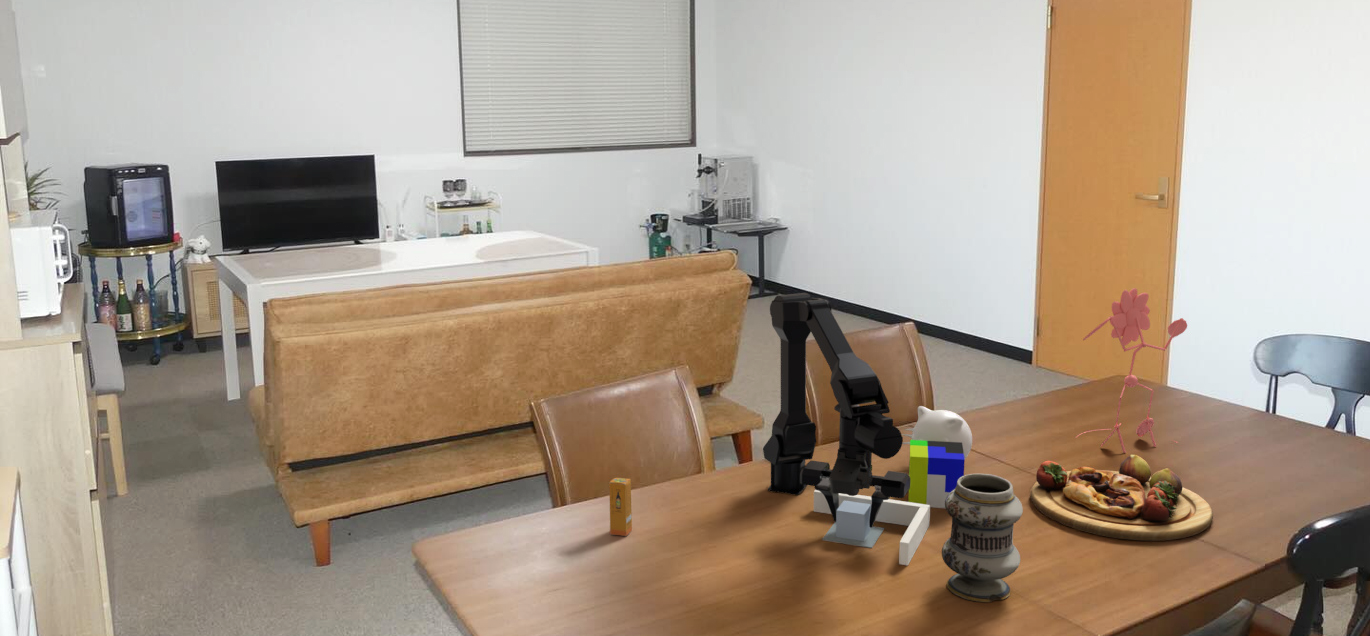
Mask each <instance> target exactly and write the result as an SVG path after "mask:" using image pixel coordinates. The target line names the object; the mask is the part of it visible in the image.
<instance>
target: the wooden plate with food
mask: <svg viewBox="0 0 1370 636" xmlns="http://www.w3.org/2000/svg"><path fill="white" fill-rule="evenodd" d="M1119 466H1120V467H1119V468H1118V470H1116V471H1115V470H1108V469H1107V470H1101V469H1095V468H1094V467H1089V466H1079V467H1077V468H1073V469H1071V470H1068V471H1067V470H1066V469H1065V468H1064V467H1063V466H1062V465H1061V464H1059V463H1057V462H1055V461H1052V460H1046V461H1043V462H1042V463H1040V465H1039V467H1038V468H1037V470H1036V477H1035V478H1036V481H1035V483H1034V484H1033V485H1032V486H1031V489H1030V495H1029V496H1030V500H1031V501H1032V503H1033V505H1034V507H1035V508H1036V509H1037V510H1038V511H1039V512H1041V513H1042V514H1043V515H1045V516H1046V517H1048V518H1049V519H1051V520H1053V521H1055V522H1057V523H1059V524H1061V525H1063V526H1066V527H1069V528H1072V529H1075V530H1079V531H1082V532H1084V533H1089V534H1093V535H1097V536H1102V537H1107V538H1114V539H1118V540H1119V539H1120V540H1121V539H1122V540H1129V541H1147V542H1148V541H1149V542H1150V541H1151V542H1154V541H1157V542H1158V541H1160V542H1161V541H1170V540H1171V541H1172V540H1173V541H1174V540H1178V539H1179V540H1180V539H1184V538H1188V537H1192V536H1196V535H1198V534H1200V533H1202V532H1203V531H1205V530H1206V529H1207V528H1209V527H1210V526H1211V523H1212V522H1213V518H1214V512H1213V510H1212V507H1211V505H1210V504H1209V503H1208V502H1207V501H1206V500H1205V499H1204V498H1203V497H1202V496H1200V495H1199V494H1198V493H1196V492H1194V491H1192V490H1190V489H1188V488H1185V487H1183V484H1182V481H1181V478H1180V477H1179V476H1178V475H1177V473H1175V472H1173V471H1172V470H1171V469H1170V468H1167V467H1166V468H1163V469H1161V470H1157V471H1156V472H1154V473H1153V474H1152V469H1151V467H1150V465H1149V464H1148V462H1147V461H1146V460H1145V459H1143V457H1141V456H1139V455H1137V454H1130V455H1129V456H1127V457H1126V458H1125V459H1123V460H1122V462H1121V463H1120V465H1119Z"/></svg>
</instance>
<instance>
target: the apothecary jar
mask: <svg viewBox="0 0 1370 636" xmlns="http://www.w3.org/2000/svg"><path fill="white" fill-rule="evenodd" d="M944 509H945V510H946V512H947V514H948V515H949V516H950V517H951V531H950V537H948V539H947V540H945V542H944V543H943V545H942V547H941V558H942V561H943V563H945V565H946V566H947V567H948V568H949V569H950V570H952V571H953V572H954V573H956V574H954V575H952V576H950V577H949V578H948V580H947V581H946V586H947V589H948V590H949V592H951V593H952V594H953V595H955V596H958V597H959V598H962V599H964V600H967V601H972V602H977V603H991V602H993V601H1003V600H1005V599H1007V598H1008V597H1010V595H1011V592H1012V591H1011V588H1010V585H1009V584H1008V583H1007V582H1006V581H1004V580H1003V579H1006V578H1007V577H1009V576H1010V575H1013V573H1015V572H1016V571H1017V569H1018V568H1019V567H1020V566H1019V565H1020V564H1021V555H1020V552H1019V550H1018V548H1017V547H1016V545H1014V525H1015V524H1016V522H1018V521H1019V520H1020V518H1021V517H1022V515H1023V512H1024V508H1023V504H1022V502H1021V501H1020V499H1019V497H1017V495H1015V494H1014V487H1013V484H1012V482H1011V481H1010V480H1008V479H1006V478H1004V477H1002V476H999V475H995V474H991V473H970V474H964V476H962V477H960V478H959V479H958V481H957V486H956V488H955V489H954V490H953V491H951V492H950V493H949V494H948V496H947V497H946V500H945V508H944Z"/></svg>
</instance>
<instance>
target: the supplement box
mask: <svg viewBox="0 0 1370 636" xmlns="http://www.w3.org/2000/svg"><path fill="white" fill-rule="evenodd" d="M631 481H632V480H631V478H623V477H614V478H612V479H611V480H610V481H609V483H608V487H609V534H610V535H611V536H623V537H627V536H628V535H630V533H631V532H633V517H632V516H633V515H632V513H633V512H632V482H631Z"/></svg>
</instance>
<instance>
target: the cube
mask: <svg viewBox="0 0 1370 636" xmlns="http://www.w3.org/2000/svg"><path fill="white" fill-rule="evenodd" d="M870 512H871V504H865V503H858V502H851V501H843V502H842V504H841V505H840V506H839V508H838V509H837V510H836V537H841V538H847V539H854V540H860V541H864V539H865V538H866V536H867V535H868V533H869V532H870V528H871V527H870V525H869V519H870Z"/></svg>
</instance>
